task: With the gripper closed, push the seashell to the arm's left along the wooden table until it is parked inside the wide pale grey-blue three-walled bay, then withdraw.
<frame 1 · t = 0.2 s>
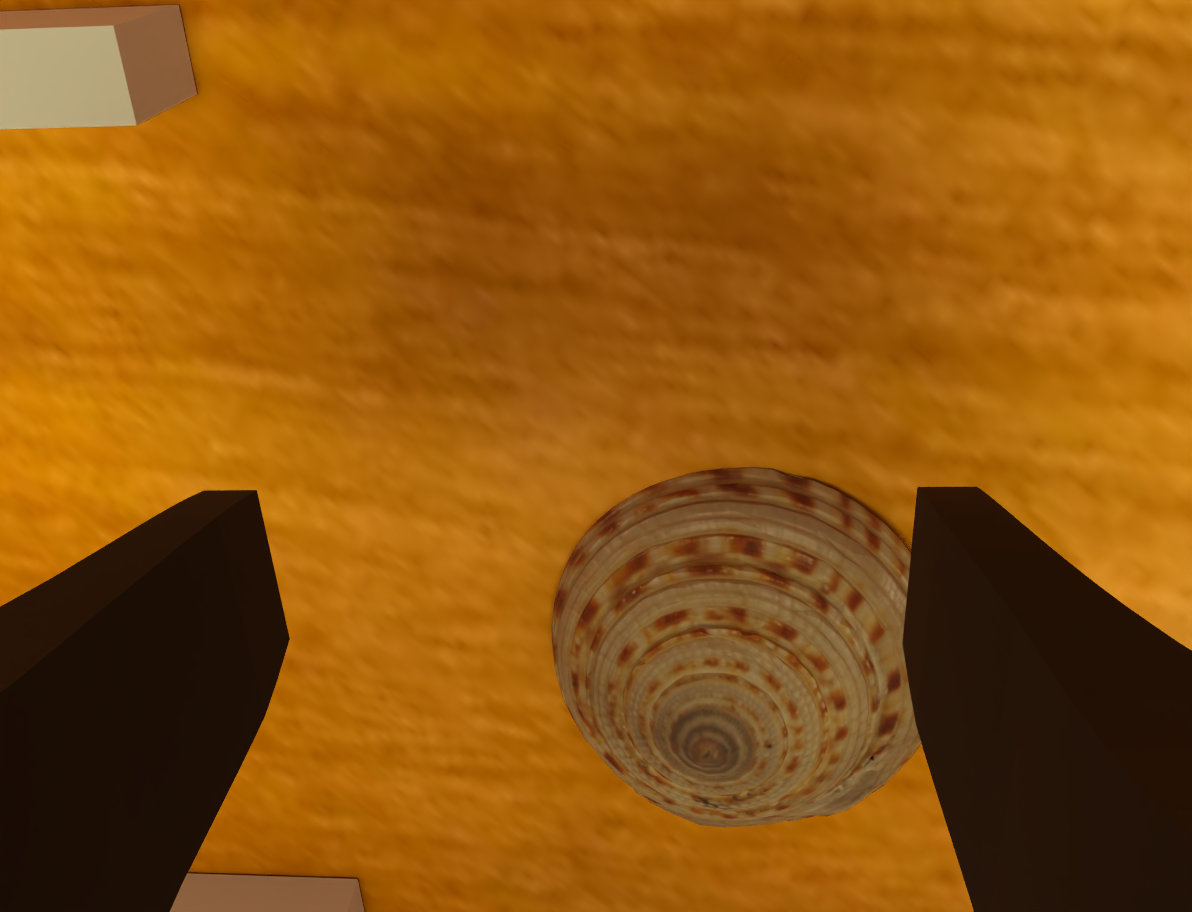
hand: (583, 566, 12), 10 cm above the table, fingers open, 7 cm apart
bay: (33, 559, 25), on the table
seashell: (748, 626, 25), on the table
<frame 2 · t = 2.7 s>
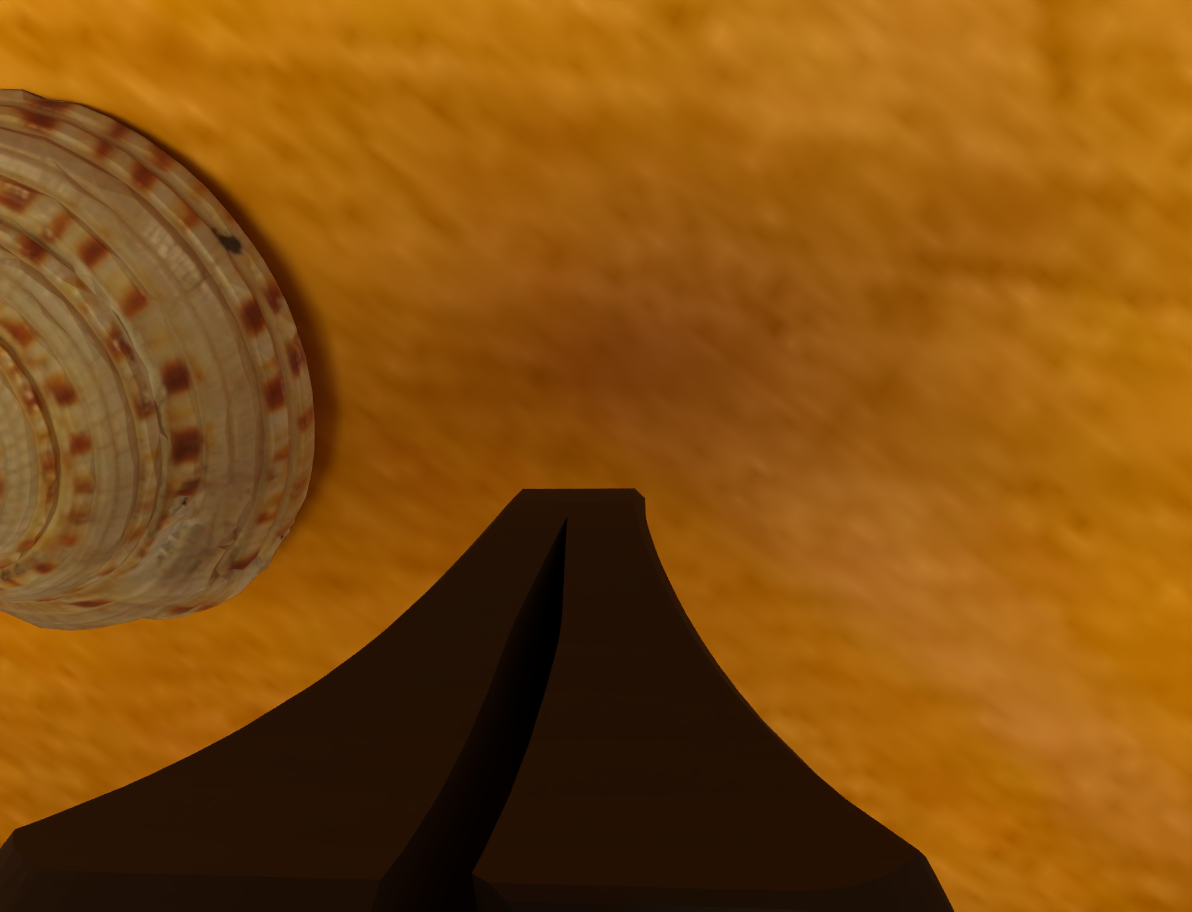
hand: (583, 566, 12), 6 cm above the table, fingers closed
seashell: (91, 354, 19), on the table
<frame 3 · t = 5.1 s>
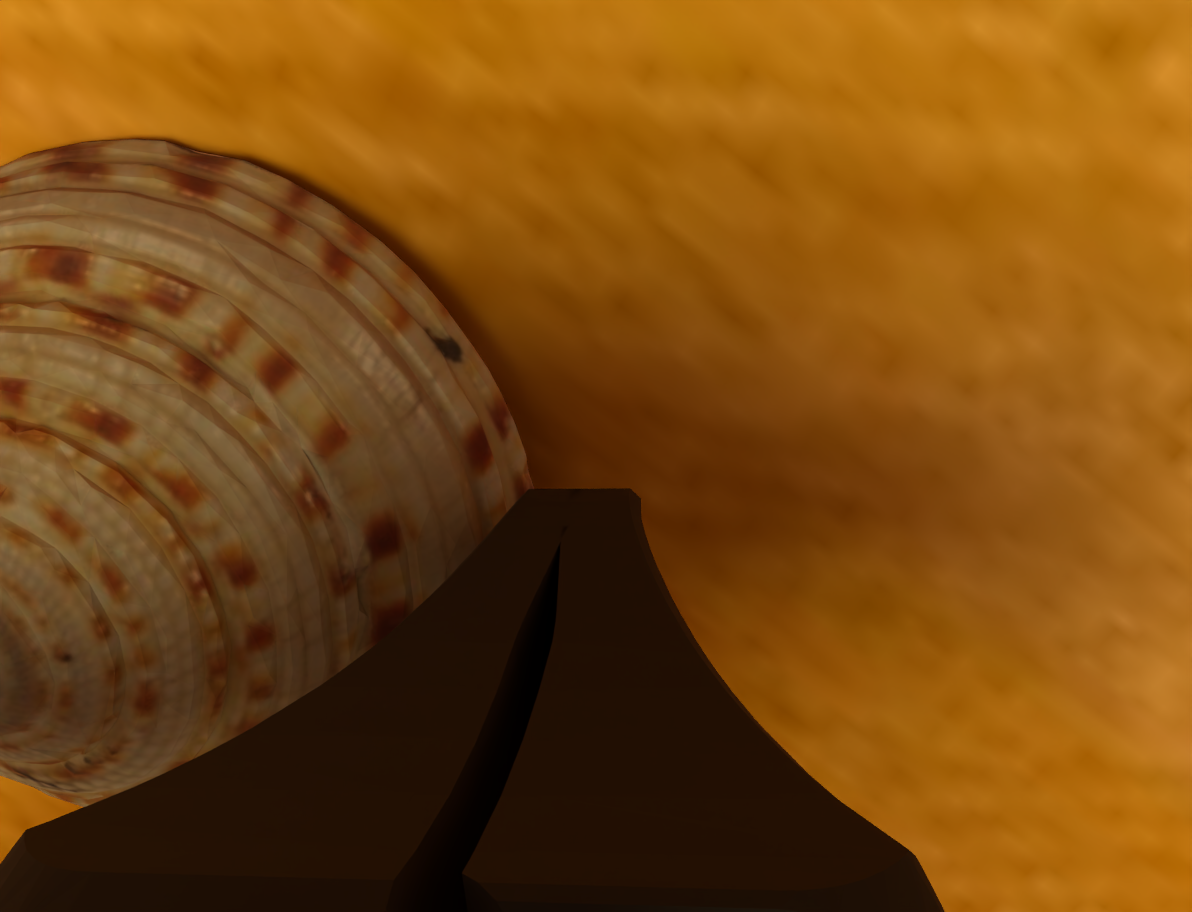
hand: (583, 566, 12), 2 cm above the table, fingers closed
seashell: (233, 474, 14), on the table, touching gripper
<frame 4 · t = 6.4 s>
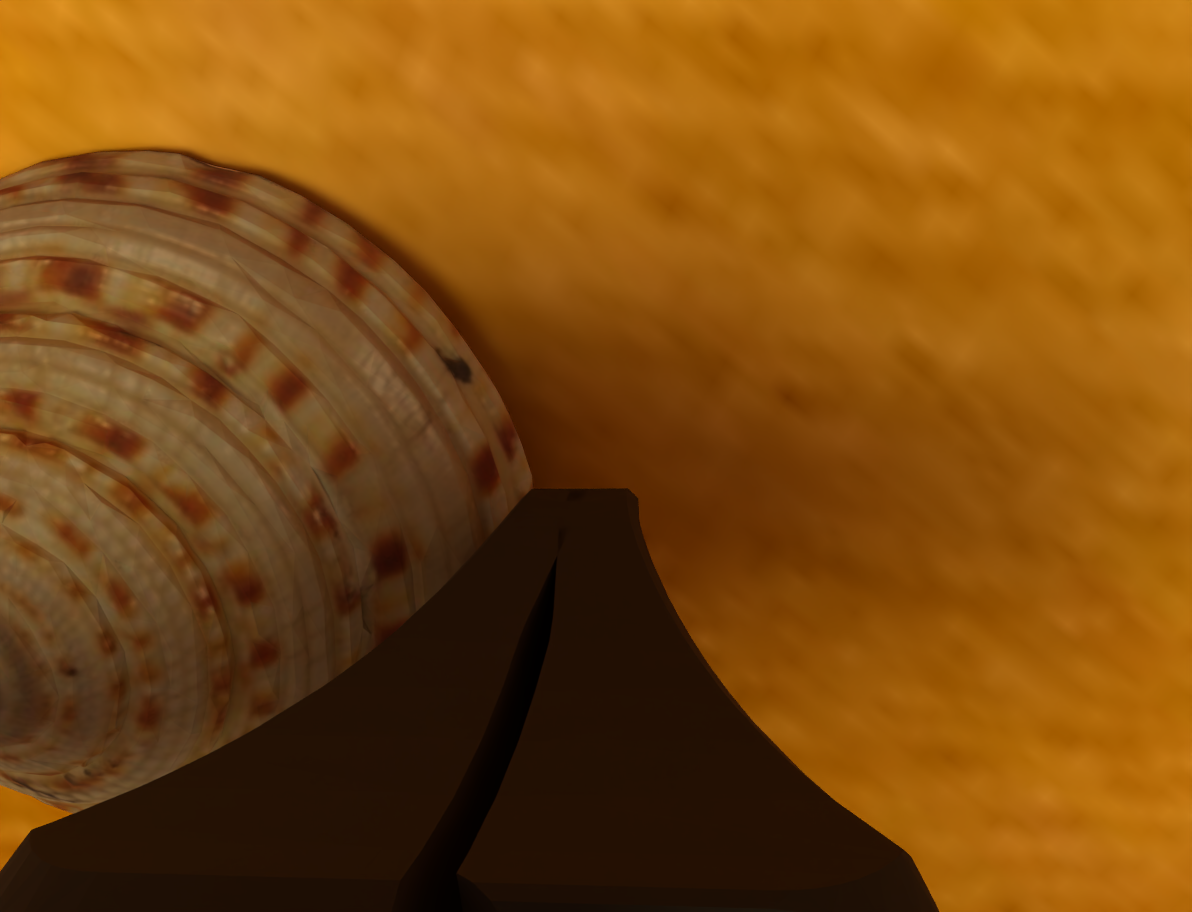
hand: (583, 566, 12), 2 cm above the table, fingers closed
seashell: (235, 484, 14), on the table, touching gripper
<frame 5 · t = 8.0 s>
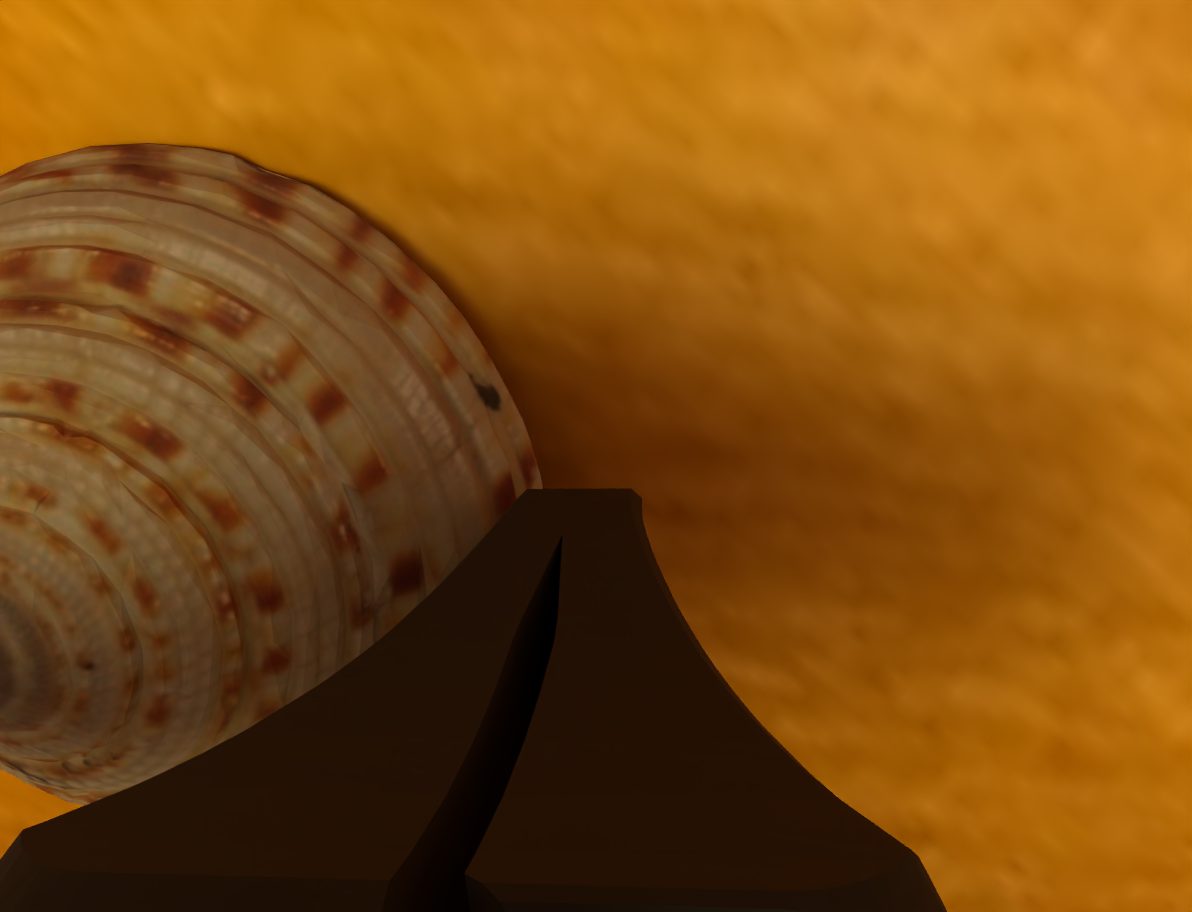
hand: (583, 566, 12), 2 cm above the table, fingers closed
seashell: (242, 479, 15), on the table
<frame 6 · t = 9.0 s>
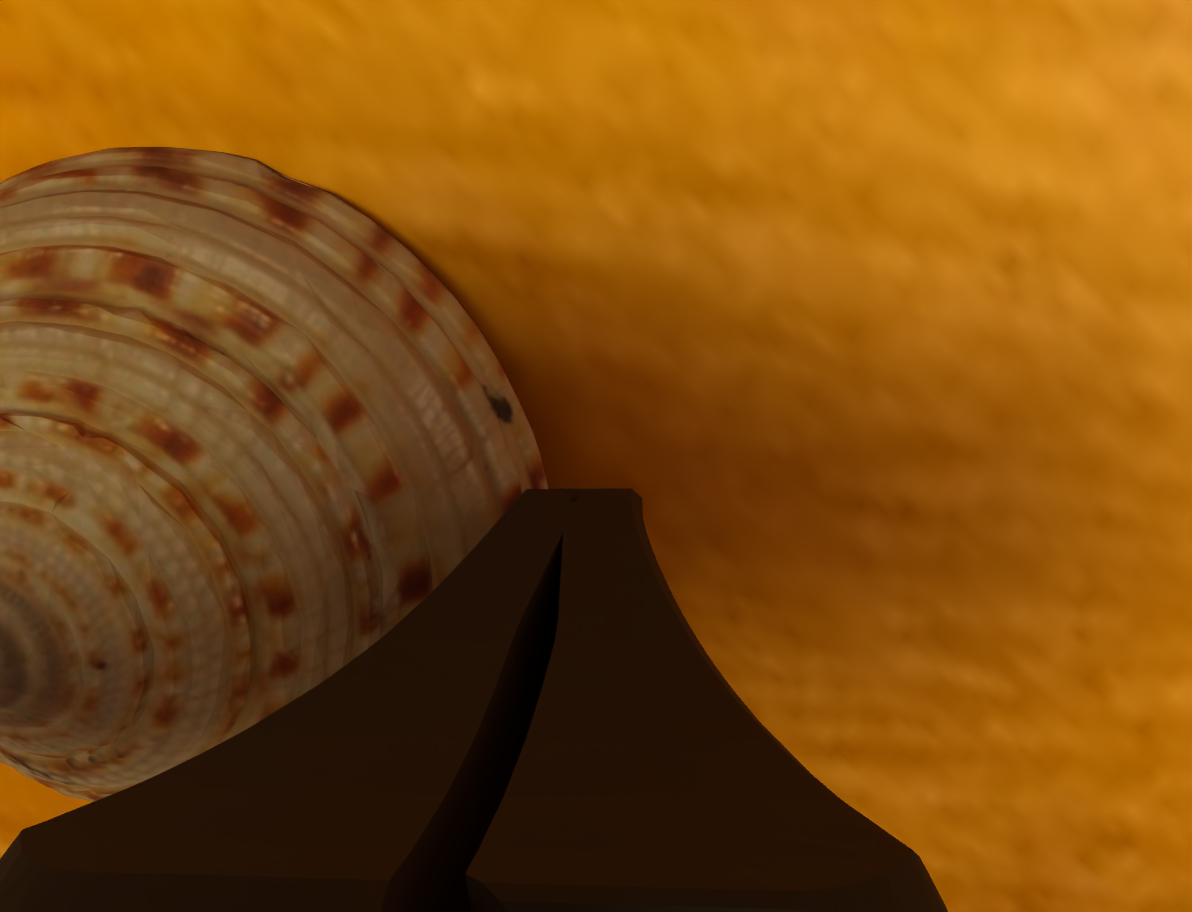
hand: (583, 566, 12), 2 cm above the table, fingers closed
seashell: (248, 479, 15), on the table
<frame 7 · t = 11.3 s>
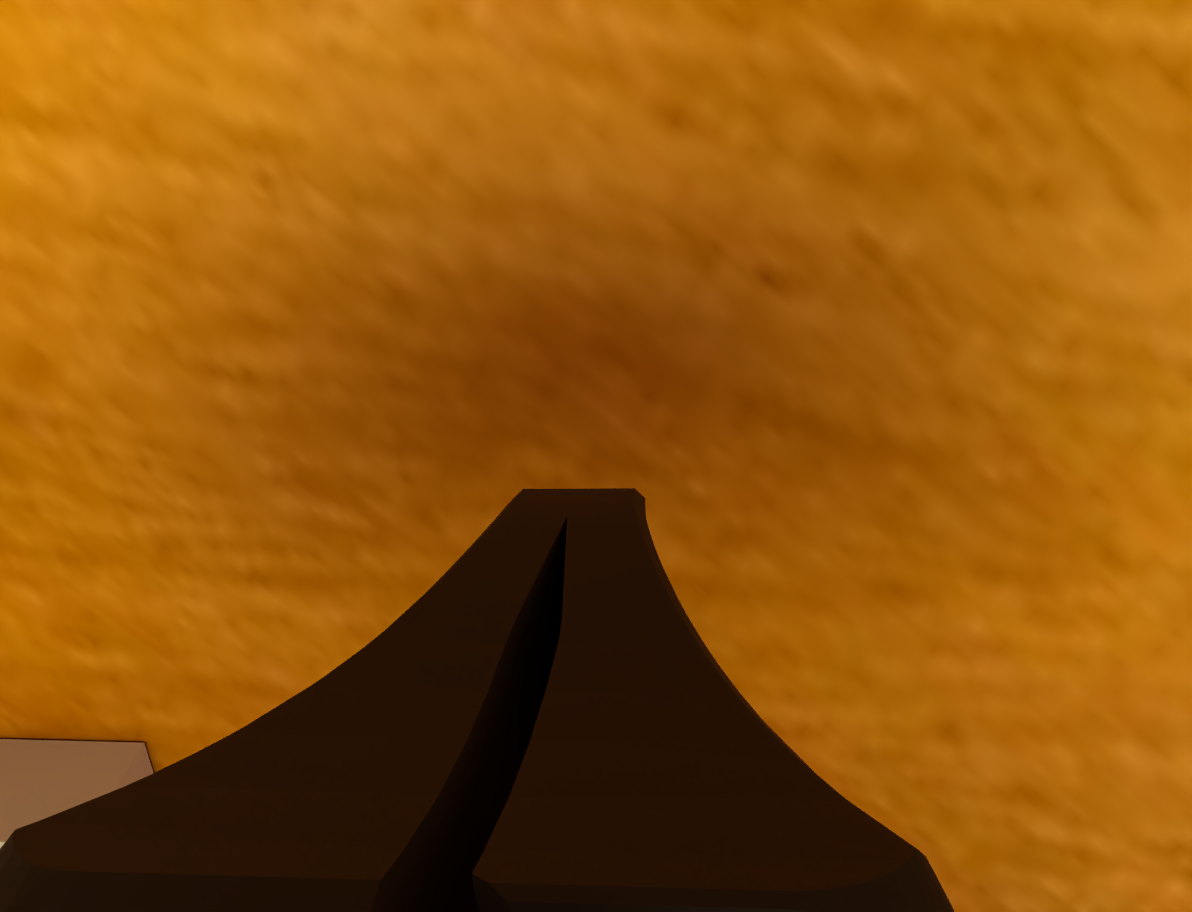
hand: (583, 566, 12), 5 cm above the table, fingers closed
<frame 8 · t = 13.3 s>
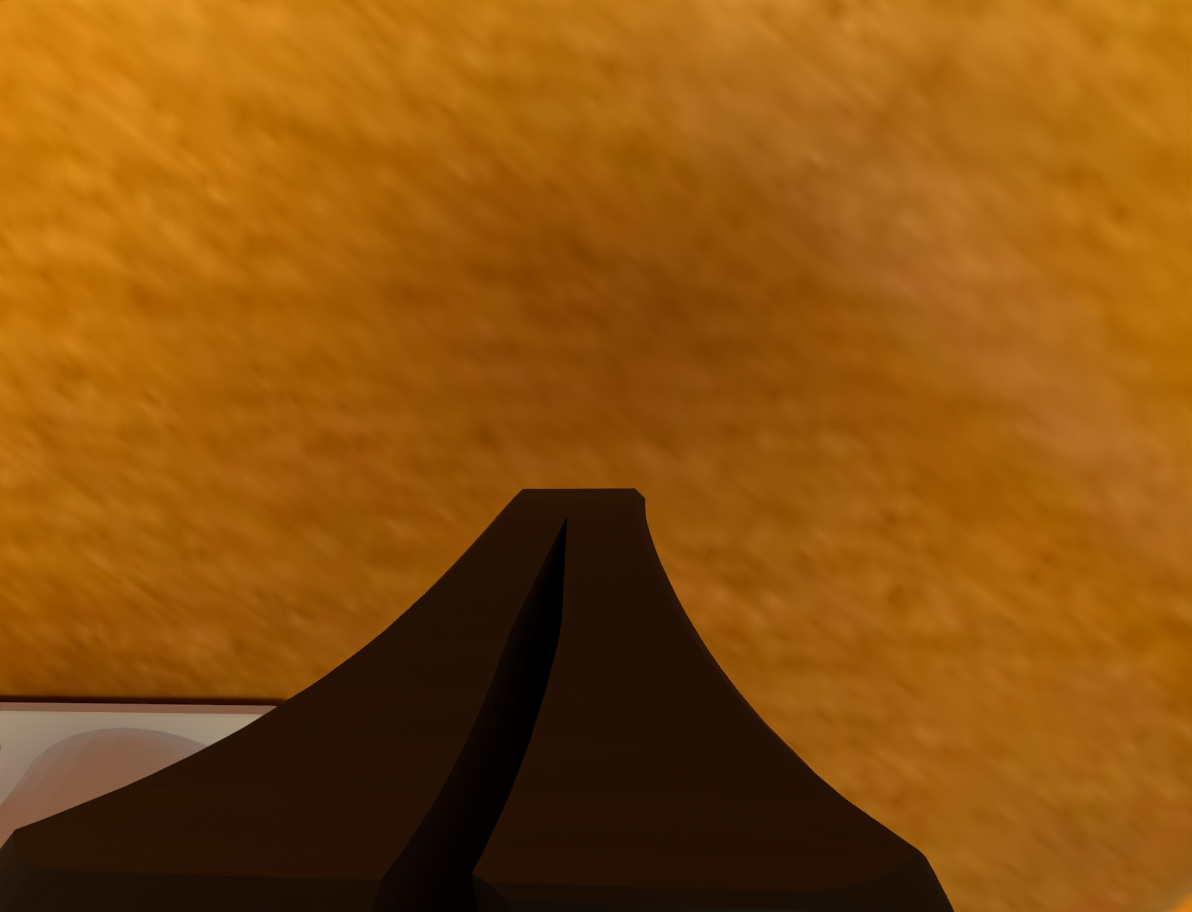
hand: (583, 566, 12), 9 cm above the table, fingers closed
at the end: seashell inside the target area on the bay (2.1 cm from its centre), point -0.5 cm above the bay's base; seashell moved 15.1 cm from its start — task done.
